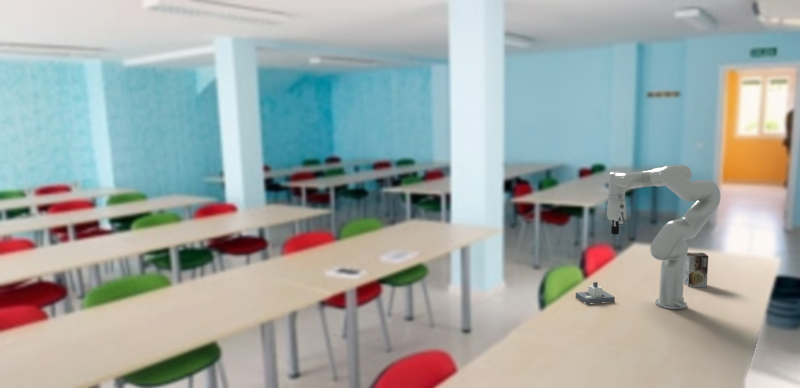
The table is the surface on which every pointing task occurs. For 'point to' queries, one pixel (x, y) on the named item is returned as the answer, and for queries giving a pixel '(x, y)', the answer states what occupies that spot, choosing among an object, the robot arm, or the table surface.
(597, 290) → the plug
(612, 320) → the table surface
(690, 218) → the robot arm
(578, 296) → the socket plate
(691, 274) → the coffee box
